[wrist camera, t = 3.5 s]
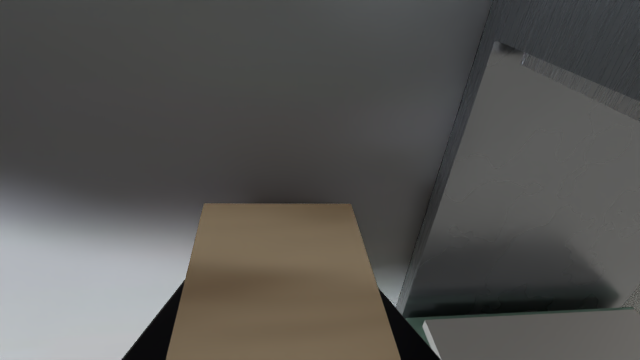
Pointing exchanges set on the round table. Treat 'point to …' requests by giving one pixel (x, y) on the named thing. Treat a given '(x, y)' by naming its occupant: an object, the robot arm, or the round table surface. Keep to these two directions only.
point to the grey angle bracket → (538, 168)
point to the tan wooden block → (280, 287)
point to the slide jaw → (534, 335)
